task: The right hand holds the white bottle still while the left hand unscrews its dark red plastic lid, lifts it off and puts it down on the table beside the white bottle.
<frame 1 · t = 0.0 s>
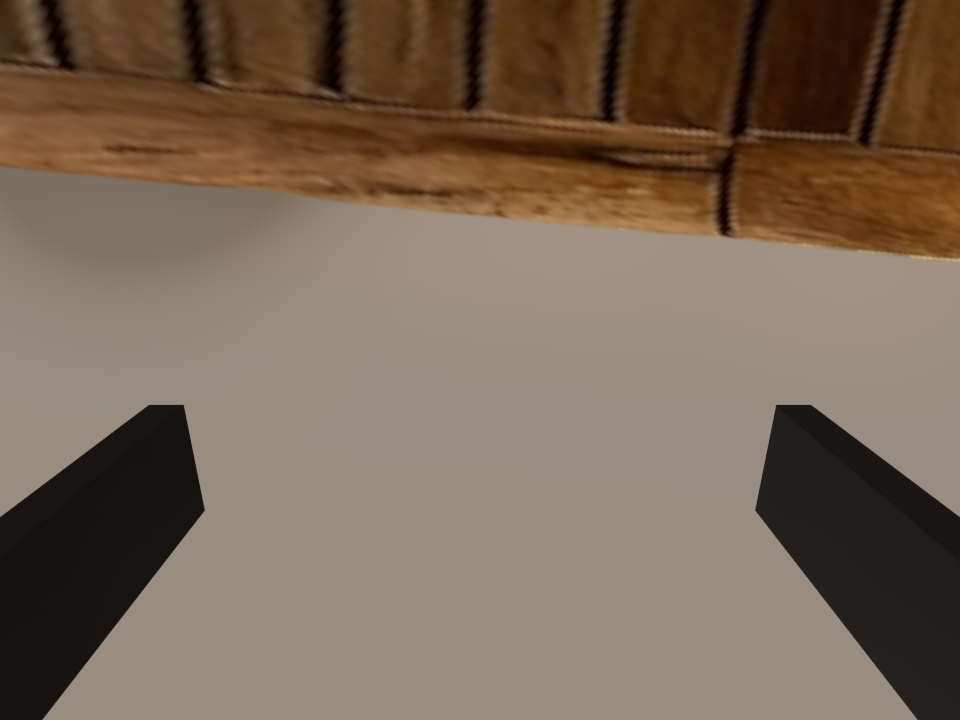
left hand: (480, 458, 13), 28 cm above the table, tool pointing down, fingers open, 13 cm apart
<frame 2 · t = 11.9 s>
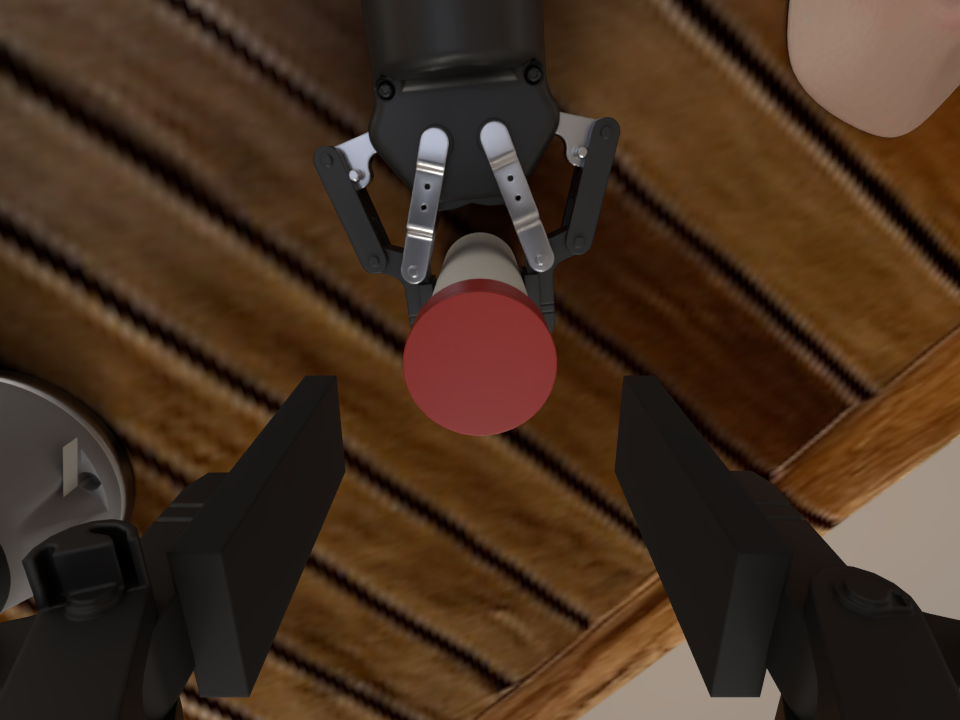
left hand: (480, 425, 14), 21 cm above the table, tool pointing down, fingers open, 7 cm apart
right hand: (485, 344, 29), fingers closed on white bottle, 4 cm apart
lid: (480, 363, 18), point 16 cm above the table, screwed on, not yet turned
white bottle: (480, 269, 33), on the table, touching right hand
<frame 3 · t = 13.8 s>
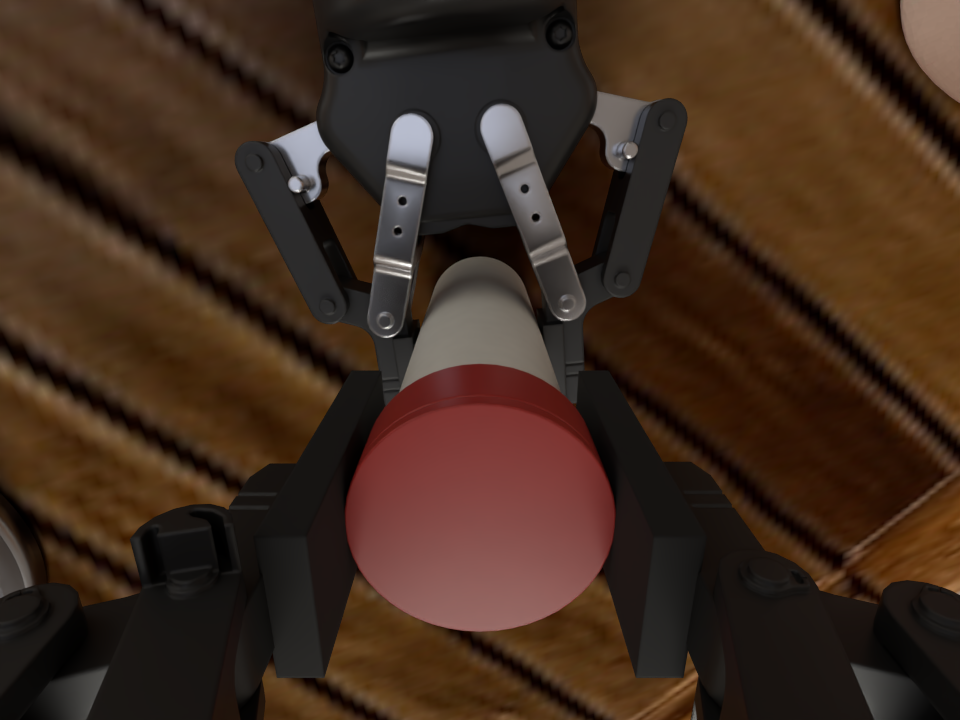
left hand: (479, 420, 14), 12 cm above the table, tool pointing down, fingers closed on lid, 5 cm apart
right hand: (487, 414, 21), fingers closed on white bottle, 4 cm apart
lid: (480, 516, 11), point 16 cm above the table, screwed on, not yet turned, touching left hand
white bottle: (479, 304, 26), on the table, touching right hand
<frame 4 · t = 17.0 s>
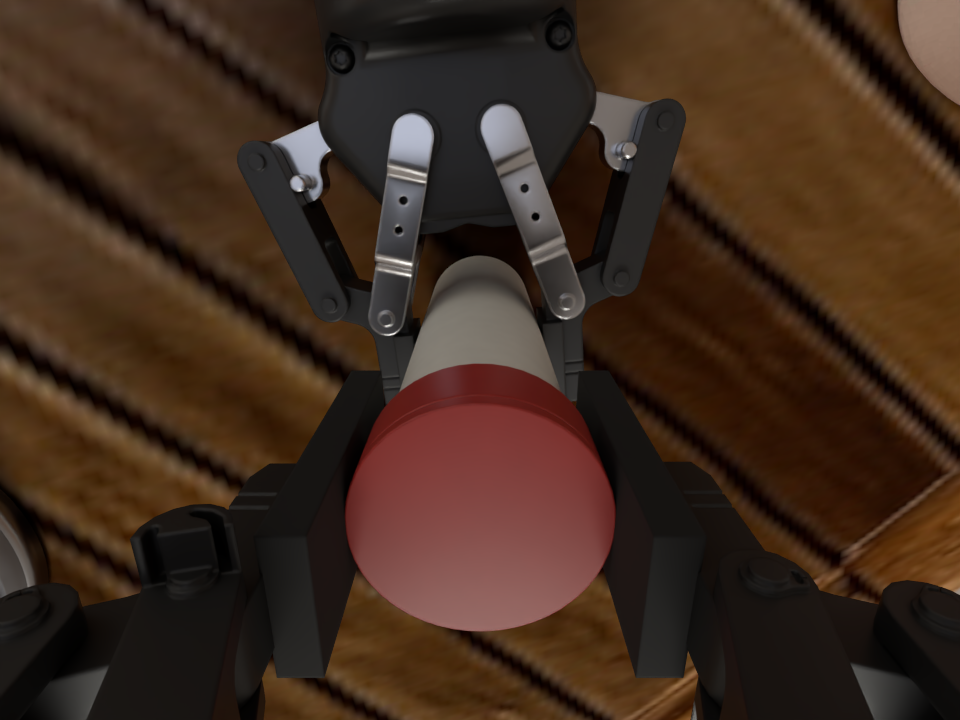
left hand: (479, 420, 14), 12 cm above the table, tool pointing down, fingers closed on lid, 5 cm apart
right hand: (487, 412, 21), fingers closed on white bottle, 4 cm apart
lid: (480, 515, 11), point 16 cm above the table, turned 92° so far, risen 0.2 cm, still on its thread, touching left hand
white bottle: (480, 303, 26), on the table, touching right hand
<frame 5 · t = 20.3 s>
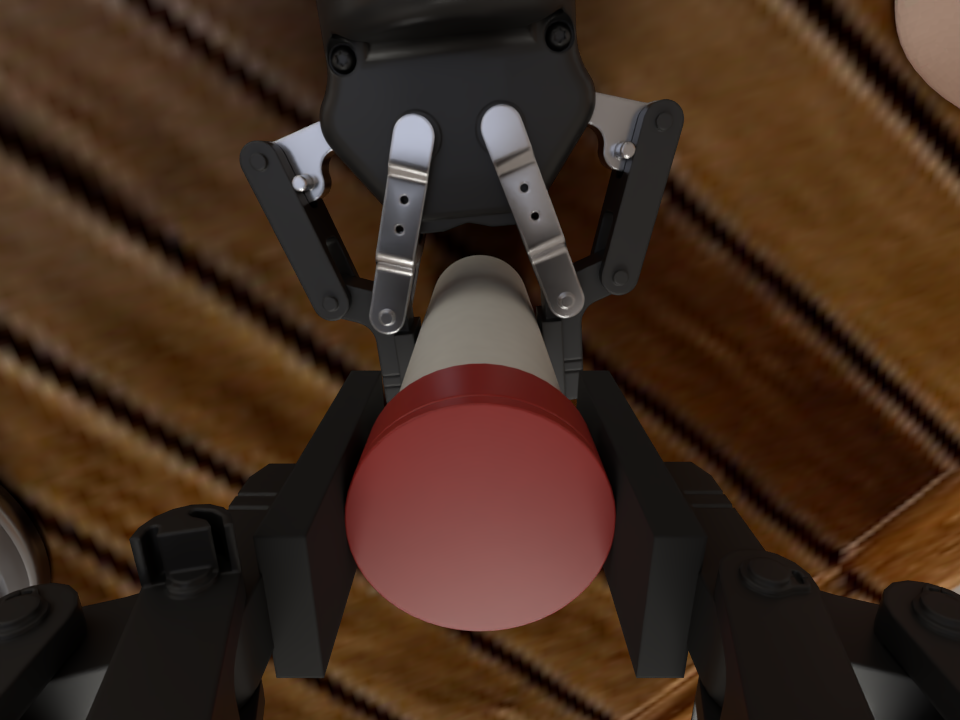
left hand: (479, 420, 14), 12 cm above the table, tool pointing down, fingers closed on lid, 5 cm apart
right hand: (487, 410, 21), fingers closed on white bottle, 4 cm apart
lid: (480, 515, 11), point 16 cm above the table, turned 185° so far, risen 0.3 cm, still on its thread, touching left hand
white bottle: (480, 302, 26), on the table, touching right hand
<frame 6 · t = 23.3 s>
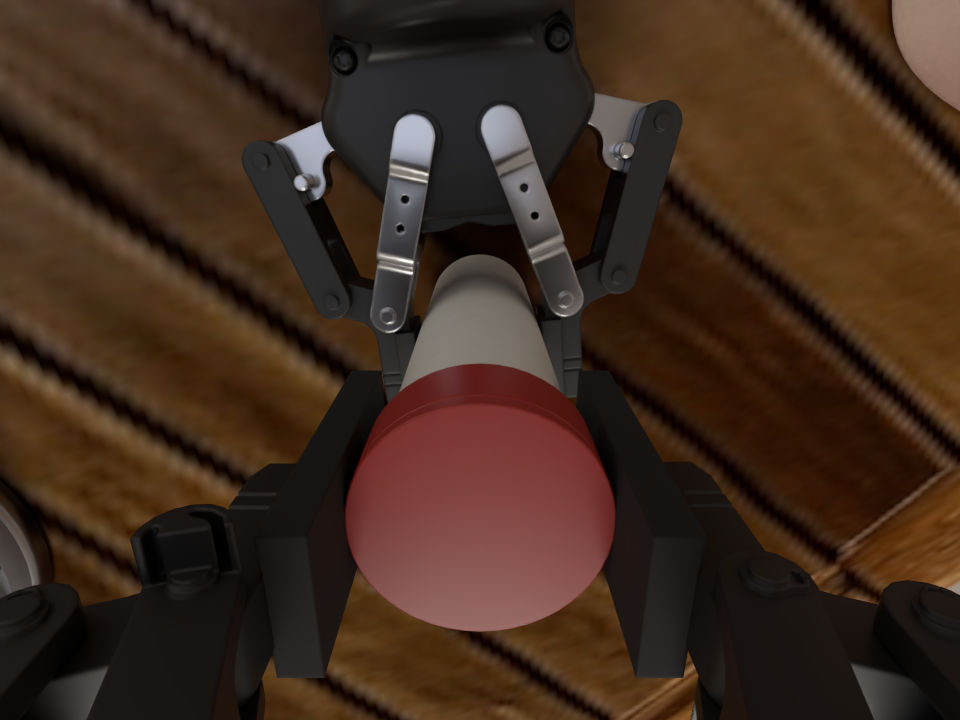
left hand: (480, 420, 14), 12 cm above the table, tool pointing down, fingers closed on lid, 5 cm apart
right hand: (487, 409, 21), fingers closed on white bottle, 4 cm apart
lid: (480, 515, 11), point 17 cm above the table, turned 277° so far, risen 0.5 cm, still on its thread, touching left hand
white bottle: (480, 301, 26), on the table, touching right hand
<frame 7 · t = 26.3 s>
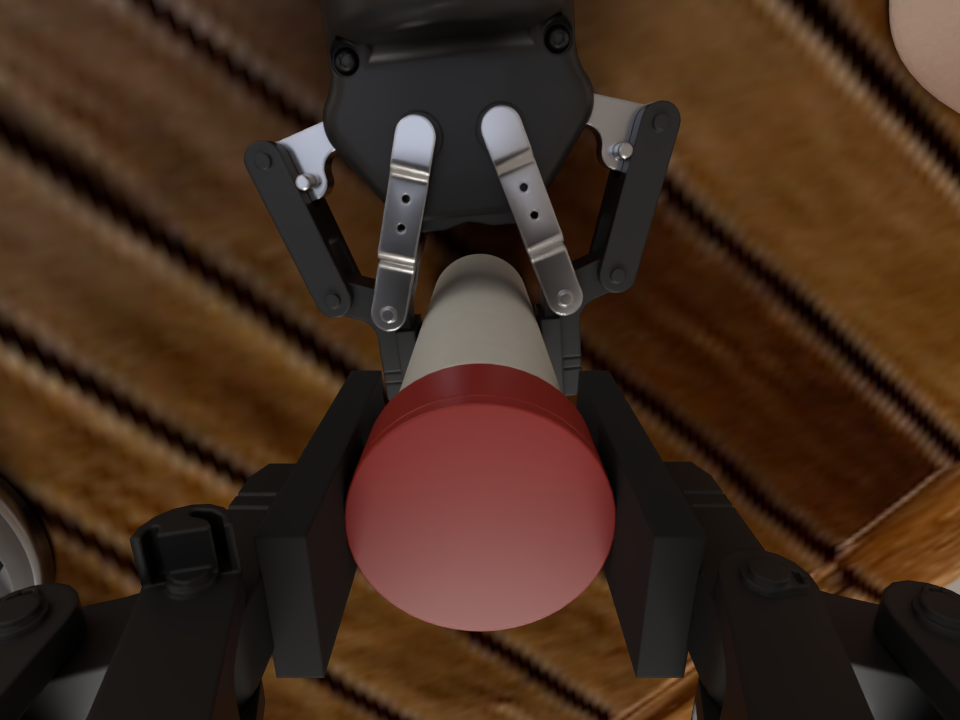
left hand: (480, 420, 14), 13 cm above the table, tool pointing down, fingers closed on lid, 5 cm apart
right hand: (487, 407, 21), fingers closed on white bottle, 4 cm apart
lid: (480, 515, 11), point 17 cm above the table, turned 370° so far, risen 0.7 cm, still on its thread, touching left hand
white bottle: (480, 300, 26), on the table, touching right hand
when the left hand's fingers open (0 cm above the table, at t = 33.6 s): lid drops 3 cm, point 2 cm above the table.
when the right hand's fingers open (6 cm above the table, at t = 34.2 s): white bottle stays where it is, on the table.
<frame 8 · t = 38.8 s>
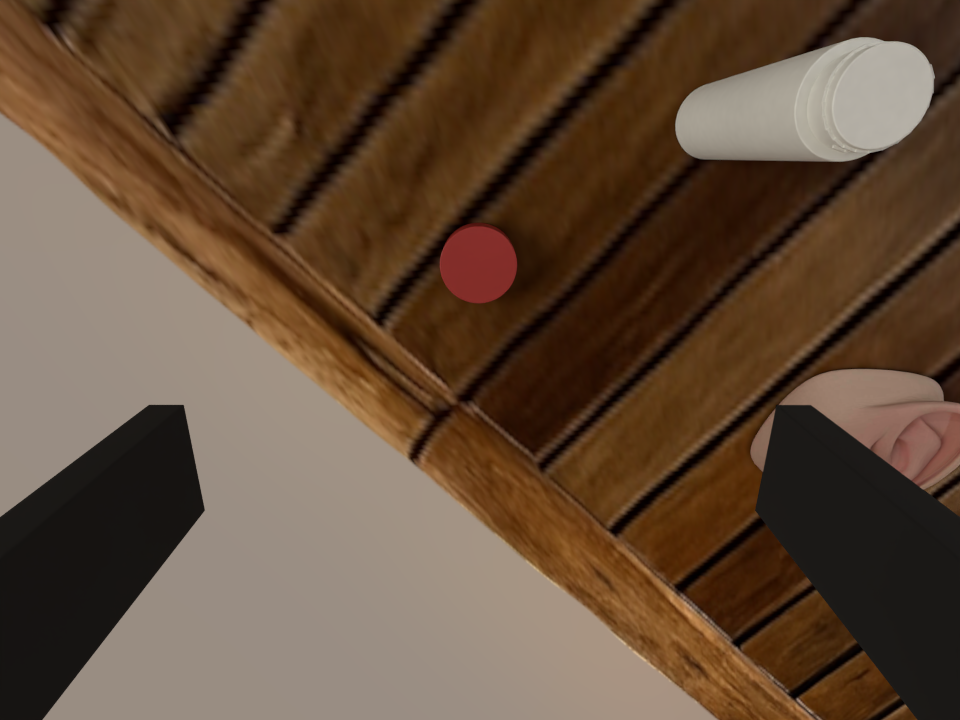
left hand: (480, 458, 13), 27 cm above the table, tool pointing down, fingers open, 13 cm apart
lid: (478, 264, 36), point 2 cm above the table, off its thread
anatomical model: (842, 433, 42), on the table
white bottle: (710, 122, 35), on the table
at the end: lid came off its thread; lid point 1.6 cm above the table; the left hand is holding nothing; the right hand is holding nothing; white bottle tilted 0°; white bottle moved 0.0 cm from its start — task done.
